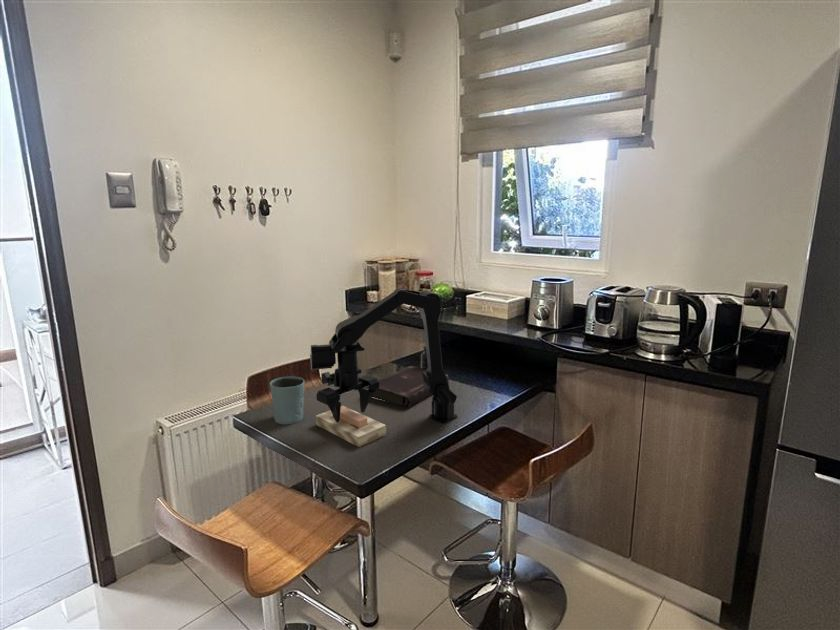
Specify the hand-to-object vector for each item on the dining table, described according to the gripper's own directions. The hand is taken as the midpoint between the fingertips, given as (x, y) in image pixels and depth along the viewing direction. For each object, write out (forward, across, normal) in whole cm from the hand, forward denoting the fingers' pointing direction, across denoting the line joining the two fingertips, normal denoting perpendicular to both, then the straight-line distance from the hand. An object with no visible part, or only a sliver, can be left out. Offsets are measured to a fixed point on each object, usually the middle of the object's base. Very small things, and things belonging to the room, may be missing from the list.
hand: (350, 417), depth 143 cm
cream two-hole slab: (+4, 0, 0) cm, 4 cm away
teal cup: (+4, +8, -20) cm, 22 cm away
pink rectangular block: (+4, 0, 0) cm, 4 cm away
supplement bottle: (+4, -49, -14) cm, 51 cm away
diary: (+5, -33, -9) cm, 35 cm away
